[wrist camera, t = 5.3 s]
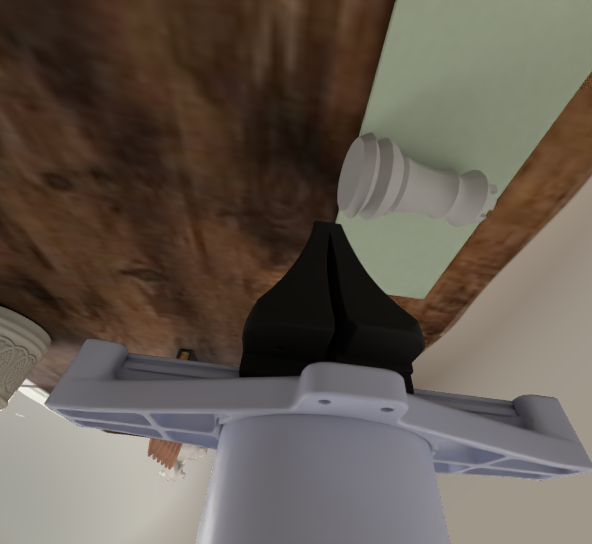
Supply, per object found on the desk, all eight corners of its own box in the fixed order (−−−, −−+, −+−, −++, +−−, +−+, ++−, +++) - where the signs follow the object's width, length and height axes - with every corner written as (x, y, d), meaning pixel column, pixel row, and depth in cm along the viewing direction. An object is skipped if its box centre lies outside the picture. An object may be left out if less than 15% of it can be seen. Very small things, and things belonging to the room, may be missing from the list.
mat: (422, 296, 26) (423, 299, 26) (319, 281, 26) (319, 285, 25) (642, -10, 11) (650, -9, 11) (408, -50, 11) (410, -50, 11)
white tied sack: (213, 423, 72) (198, 460, 60) (211, 449, 73) (196, 490, 62) (166, 418, 71) (142, 453, 60) (164, 444, 72) (140, 484, 61)
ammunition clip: (178, 348, 38) (137, 453, 29) (192, 350, 38) (154, 455, 29) (193, 380, 45) (164, 470, 37) (205, 381, 45) (178, 471, 37)
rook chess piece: (373, 166, 12) (529, 199, 13) (361, 112, 15) (495, 145, 16) (337, 234, 16) (464, 255, 17) (333, 181, 18) (443, 203, 20)
